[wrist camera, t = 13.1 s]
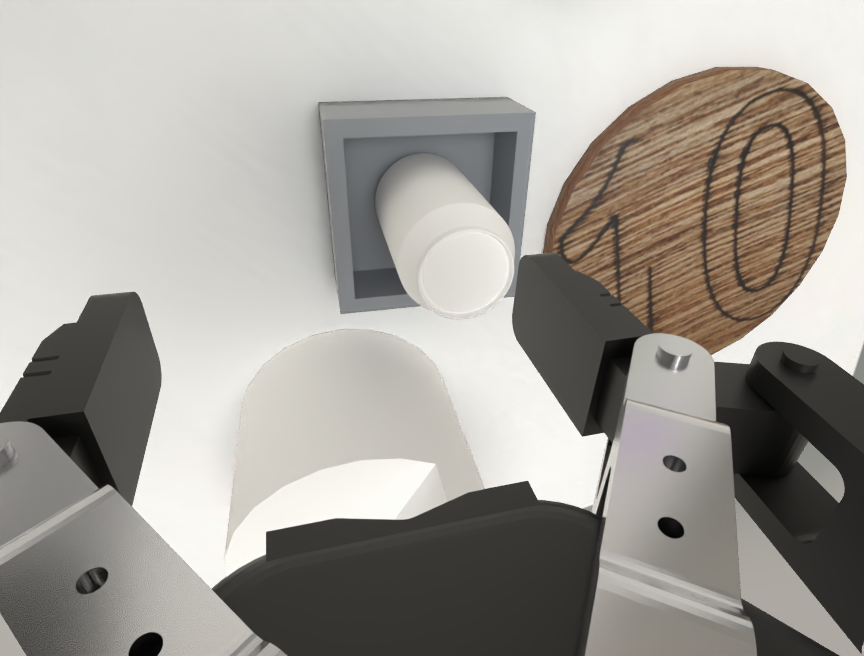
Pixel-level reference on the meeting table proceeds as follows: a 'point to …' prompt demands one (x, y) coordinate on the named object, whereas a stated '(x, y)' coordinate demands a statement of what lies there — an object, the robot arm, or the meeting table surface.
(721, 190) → the trivet
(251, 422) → the white quarter cylinder
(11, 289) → the meeting table surface
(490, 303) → the beverage can
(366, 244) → the bin
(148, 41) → the meeting table surface
